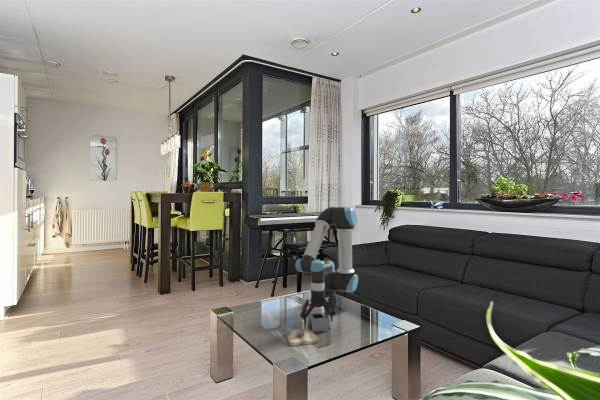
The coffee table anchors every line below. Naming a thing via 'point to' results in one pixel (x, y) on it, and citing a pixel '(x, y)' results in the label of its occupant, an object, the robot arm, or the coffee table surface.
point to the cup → (316, 309)
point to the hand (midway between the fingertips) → (318, 328)
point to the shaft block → (301, 335)
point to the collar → (318, 322)
